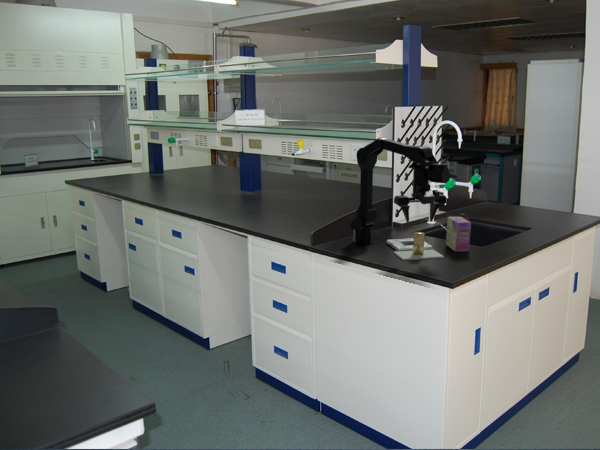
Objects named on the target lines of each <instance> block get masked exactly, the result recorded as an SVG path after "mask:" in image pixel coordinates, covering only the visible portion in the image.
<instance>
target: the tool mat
mask: <svg viewBox="0 0 600 450" xmlns="http://www.w3.org/2000/svg"><path fill="white" fill-rule="evenodd" d="M393 254H395V255H396V256H397V257H398V258H399V259H401V260H402V261H413V260H428V259H429V260H431V259H444V255H443V254H441V253H439V252H438V251H437V250H435V249H434V248H432V249H427V250H424V254H423V255H414V254H413V250H411V251H396V250H395V251H393Z"/></svg>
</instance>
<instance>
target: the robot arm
mask: <svg viewBox="0 0 600 450" xmlns="http://www.w3.org/2000/svg"><path fill="white" fill-rule="evenodd" d="M384 150H385V151H387V152H390V153H395V154H399V155H402V156H404V157H406V158H407V159H408V160H409V161H411V164H410V165H408V166H407V168H409V169H412V171H413V174H412V175H413V176H412V177H413V178H412V183H411V186H412V193H411V197H408V196H406V195H395V196H394V197H393V203H394V204H395V205H397V206H398V207H400V209H401V211H402V214H403V216H404V218H405V221H406V223H407V224H409V223H410V205H409V204H410V203H421V204H422V205H428V204H429V221H430V223H432V222H433V220H434V218H435V216H436V213H437V212H438V209H439V208H440V207H442V206H444V205H445V204H447V201H448V198H447V196H446V195H445V194H442V193H440V190H439V189H431V184H430V183H435V184H436V183H438V184H444V185H445V184H447V183H448V182H449V180H450V178H451V173H450V168H448V164H447V163H442V164H440V163H438V161H437V159H436V157H435V155H434V154H433V151H432V148H431V147H430V146H427V145H412V144H407V143H403V142H400V141H396V140H393V139H390V138H387V137H378V138H375V139H374V141H372V142H370V143H368V144H366V145H365V146H364V147H360V148H359V149H358V150H357V151H356V161H357V165H358V167H359V169H360V182H359V183H360V188H359V192H360V193H359V206H358V208H356V209H357V210H356V212H355V219H353V220H352V221H351V222H350V224H349V227H350V229H351V230H353V237H352V238H353V239H352V243H354V244H355V245H371V244H372V242H371V241H372V232H371V228H373V227H374V224H375V222H376V220H377V219H378V216H377V215H378V208H374V205H373V181H374V179H373V178H374V168H375V167H376V165H377V161H378V156H379V155H380V154H381V153H383V151H384Z"/></svg>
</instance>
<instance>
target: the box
mask: <svg viewBox="0 0 600 450" xmlns="http://www.w3.org/2000/svg"><path fill="white" fill-rule="evenodd" d="M471 229H472V222H471V221H469V220H468V219H466V218H464V217H462V216H447V224H446V239H445V244H446V246H447V247H449V248H450V249H451V250H452V251H454V252H456V253H457V252H458V253H462V252H465V253H466V252H469V251H470V241H471V239H470V238H471Z"/></svg>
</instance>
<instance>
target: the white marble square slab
mask: <svg viewBox="0 0 600 450" xmlns="http://www.w3.org/2000/svg"><path fill="white" fill-rule="evenodd" d="M386 244H387V245H388V246H390V247H391V248H392V249H394V250H395V251H411V250H413V237H412V238H411V237H410V238H409V237H408V238H396V239H395V238H394V239H387V240H386ZM427 249H433V246H432V245H430V244H429V243H427V242H426V241H425V240H424V250H427Z"/></svg>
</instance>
